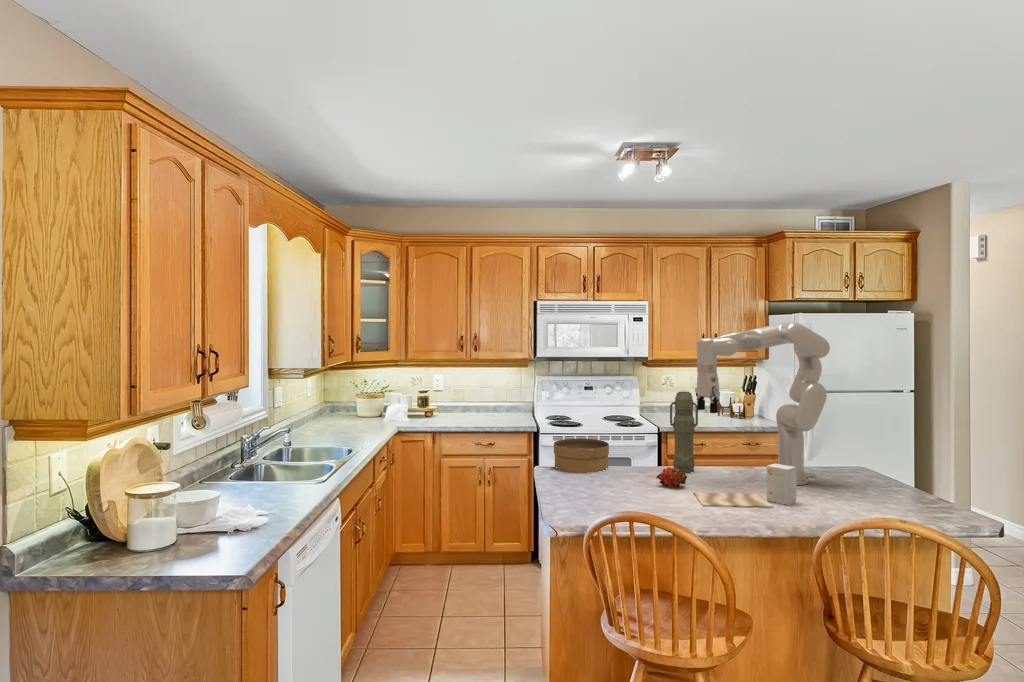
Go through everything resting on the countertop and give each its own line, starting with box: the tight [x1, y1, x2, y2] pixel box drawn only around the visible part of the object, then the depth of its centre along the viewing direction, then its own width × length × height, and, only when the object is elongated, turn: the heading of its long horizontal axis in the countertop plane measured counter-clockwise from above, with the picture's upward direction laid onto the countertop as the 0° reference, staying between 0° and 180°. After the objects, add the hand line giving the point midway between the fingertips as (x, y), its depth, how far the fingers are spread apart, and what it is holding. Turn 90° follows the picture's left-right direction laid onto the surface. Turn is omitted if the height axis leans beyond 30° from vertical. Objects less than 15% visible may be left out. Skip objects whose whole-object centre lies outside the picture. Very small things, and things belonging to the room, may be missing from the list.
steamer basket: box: [553, 438, 610, 474], centre depth 274 cm, size 25×25×11 cm
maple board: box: [693, 491, 774, 508], centre depth 219 cm, size 24×16×1 cm, turn 85°
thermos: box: [669, 391, 699, 474], centre depth 265 cm, size 9×12×35 cm
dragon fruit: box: [655, 466, 688, 489], centre depth 239 cm, size 8×8×12 cm
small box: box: [766, 463, 797, 506], centre depth 218 cm, size 8×6×13 cm
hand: (707, 411), depth 242 cm, fingers open, 9 cm apart
